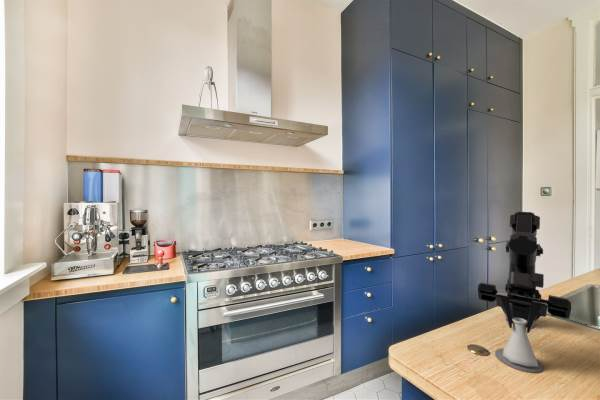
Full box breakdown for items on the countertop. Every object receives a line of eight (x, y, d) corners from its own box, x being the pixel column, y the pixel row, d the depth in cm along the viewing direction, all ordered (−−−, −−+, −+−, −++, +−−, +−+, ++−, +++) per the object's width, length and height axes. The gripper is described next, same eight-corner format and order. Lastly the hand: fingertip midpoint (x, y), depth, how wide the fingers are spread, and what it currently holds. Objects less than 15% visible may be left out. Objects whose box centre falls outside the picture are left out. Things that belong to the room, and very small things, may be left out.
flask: (508, 364, 66) (508, 323, 66) (497, 349, 73) (497, 312, 73) (544, 370, 64) (544, 328, 64) (530, 354, 71) (529, 316, 71)
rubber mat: (501, 345, 75) (501, 344, 75) (546, 362, 68) (546, 361, 68) (489, 358, 69) (489, 357, 69) (538, 378, 62) (538, 377, 62)
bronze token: (471, 343, 77) (471, 342, 77) (491, 351, 73) (491, 350, 73) (464, 349, 73) (464, 348, 73) (485, 358, 70) (485, 357, 69)
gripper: (479, 254, 77) (472, 303, 69) (572, 266, 65) (576, 328, 57) (482, 275, 83) (476, 323, 75) (567, 290, 71) (570, 349, 63)
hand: (519, 329), depth 67 cm, fingers closed on flask, 3 cm apart
